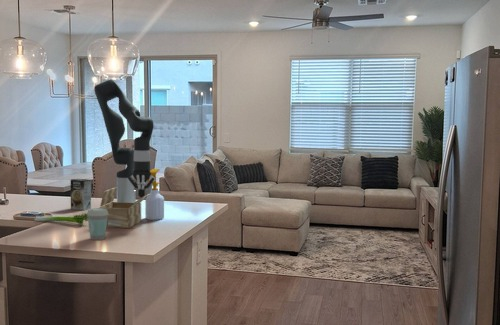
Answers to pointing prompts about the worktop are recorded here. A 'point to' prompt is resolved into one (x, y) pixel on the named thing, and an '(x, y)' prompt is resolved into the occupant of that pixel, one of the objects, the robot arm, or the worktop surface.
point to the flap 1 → (108, 196)
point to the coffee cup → (97, 223)
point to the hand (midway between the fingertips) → (141, 197)
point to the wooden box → (122, 214)
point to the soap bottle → (154, 201)
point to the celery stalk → (65, 219)
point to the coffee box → (80, 194)
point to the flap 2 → (140, 200)
